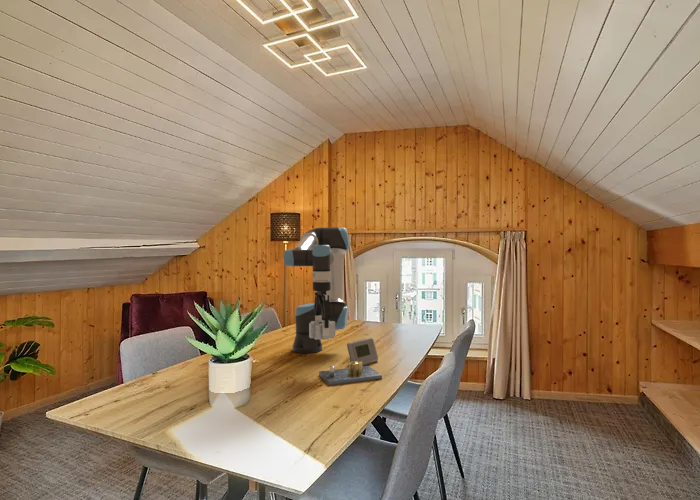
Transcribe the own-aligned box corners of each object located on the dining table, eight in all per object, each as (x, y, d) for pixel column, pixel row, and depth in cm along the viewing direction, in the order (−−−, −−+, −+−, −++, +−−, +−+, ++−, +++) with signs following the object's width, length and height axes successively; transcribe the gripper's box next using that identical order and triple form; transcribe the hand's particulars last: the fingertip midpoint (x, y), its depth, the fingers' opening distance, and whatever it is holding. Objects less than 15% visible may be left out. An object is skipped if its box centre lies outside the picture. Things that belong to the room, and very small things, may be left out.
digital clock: (352, 369, 184) (352, 344, 184) (341, 364, 192) (341, 340, 191) (383, 363, 193) (382, 339, 192) (371, 358, 200) (371, 336, 200)
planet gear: (306, 334, 185) (306, 320, 184) (330, 332, 188) (330, 319, 188) (313, 340, 174) (313, 326, 174) (338, 338, 178) (338, 324, 178)
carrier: (319, 375, 176) (318, 361, 176) (368, 369, 183) (368, 356, 183) (329, 385, 163) (328, 371, 162) (381, 378, 170) (381, 365, 170)
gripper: (306, 279, 191) (306, 328, 191) (320, 283, 169) (321, 339, 169) (322, 279, 193) (323, 327, 193) (338, 283, 171) (339, 337, 171)
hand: (322, 333), depth 181 cm, fingers closed on planet gear, 11 cm apart
